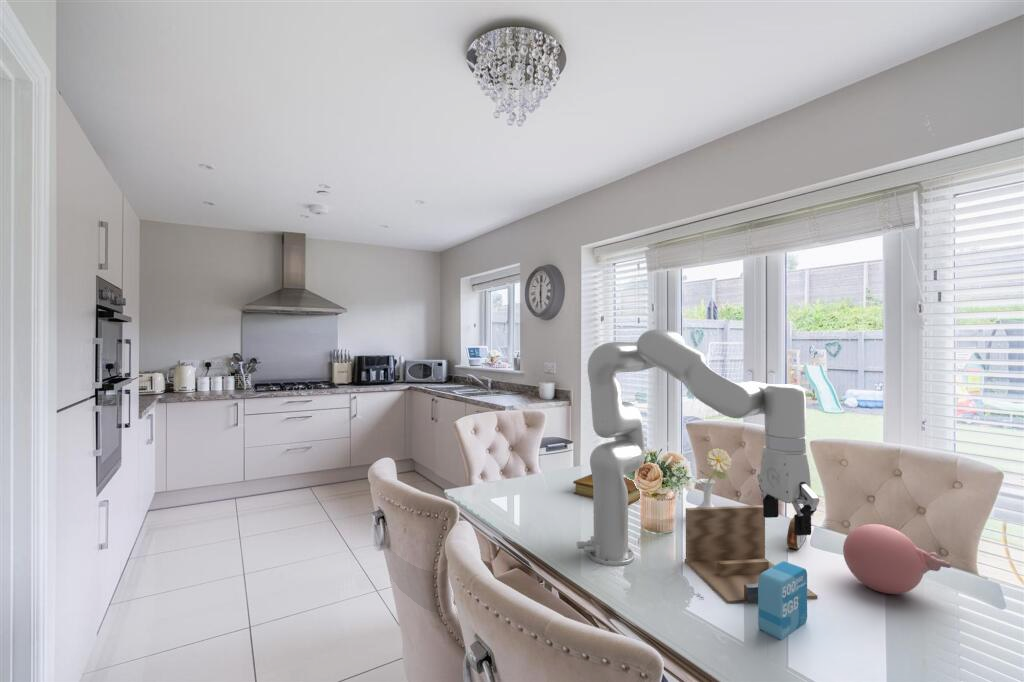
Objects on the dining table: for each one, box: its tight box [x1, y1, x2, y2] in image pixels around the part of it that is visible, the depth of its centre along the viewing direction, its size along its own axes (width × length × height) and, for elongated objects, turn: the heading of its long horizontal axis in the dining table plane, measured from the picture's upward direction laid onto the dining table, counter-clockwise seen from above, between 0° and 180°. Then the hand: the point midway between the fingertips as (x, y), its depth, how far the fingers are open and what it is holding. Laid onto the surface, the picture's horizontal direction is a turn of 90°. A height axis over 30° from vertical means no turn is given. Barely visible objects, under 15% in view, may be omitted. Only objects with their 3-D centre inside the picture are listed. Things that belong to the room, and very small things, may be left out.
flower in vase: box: [695, 447, 732, 508], centre depth 157 cm, size 13×11×25 cm
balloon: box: [842, 523, 952, 595], centre depth 113 cm, size 15×20×15 cm
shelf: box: [684, 504, 818, 605], centre depth 119 cm, size 22×21×15 cm
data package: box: [757, 560, 808, 641], centre depth 99 cm, size 12×4×12 cm, turn 125°
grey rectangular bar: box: [744, 584, 758, 601], centre depth 109 cm, size 13×2×3 cm, turn 96°
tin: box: [786, 516, 808, 551], centre depth 140 cm, size 15×3×8 cm, turn 137°
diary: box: [572, 473, 641, 507], centre depth 186 cm, size 23×19×6 cm
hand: (786, 525), depth 98 cm, fingers open, 9 cm apart
